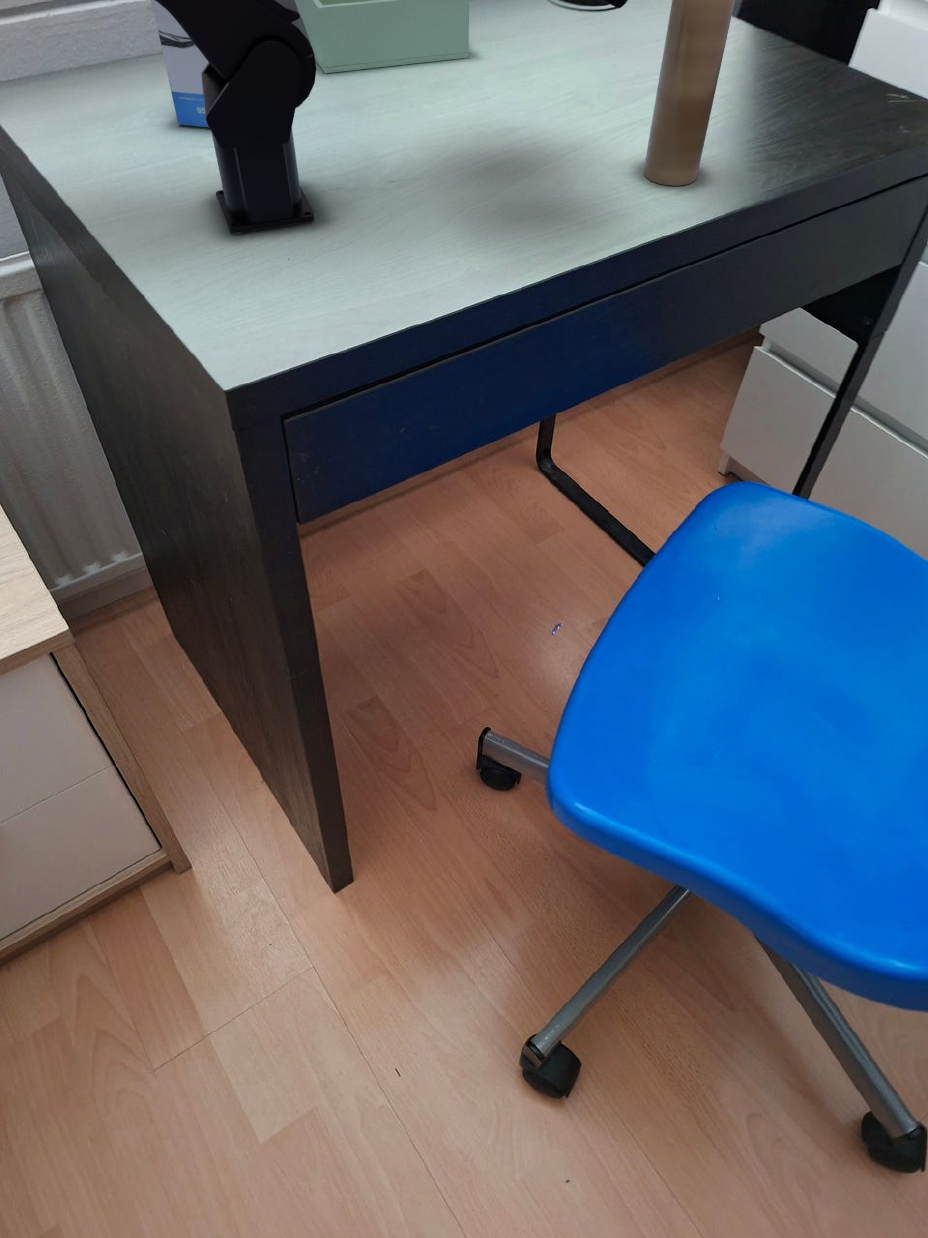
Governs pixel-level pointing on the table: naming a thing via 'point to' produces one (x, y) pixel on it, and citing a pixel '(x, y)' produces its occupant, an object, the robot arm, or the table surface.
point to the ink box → (182, 68)
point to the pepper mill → (686, 89)
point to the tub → (384, 32)
